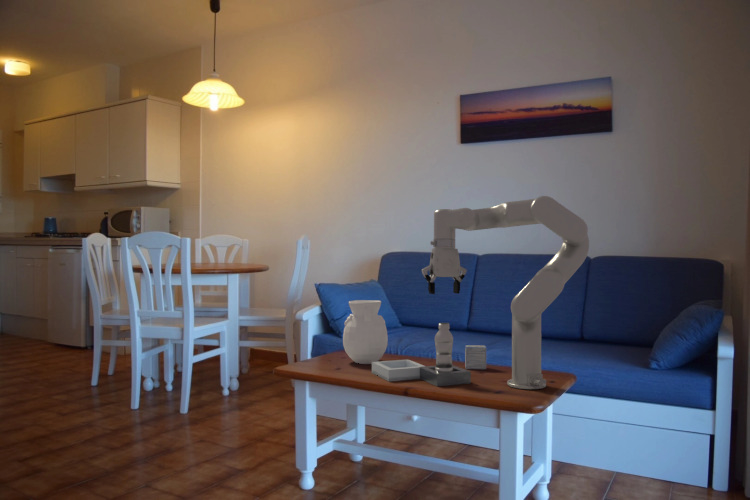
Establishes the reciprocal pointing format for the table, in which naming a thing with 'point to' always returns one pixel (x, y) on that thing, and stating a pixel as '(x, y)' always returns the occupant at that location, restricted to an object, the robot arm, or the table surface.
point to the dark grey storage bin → (445, 376)
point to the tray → (397, 370)
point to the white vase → (365, 332)
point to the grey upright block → (475, 357)
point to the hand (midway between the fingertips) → (444, 293)
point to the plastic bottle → (443, 348)
